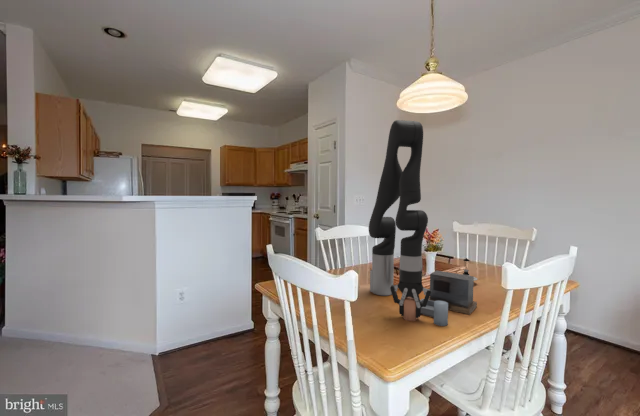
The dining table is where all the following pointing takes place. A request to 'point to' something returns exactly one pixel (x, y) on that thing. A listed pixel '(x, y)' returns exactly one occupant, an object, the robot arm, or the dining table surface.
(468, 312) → the unit
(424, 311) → the tray
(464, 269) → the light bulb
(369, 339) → the dining table surface
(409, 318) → the terracotta part
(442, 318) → the slate part
